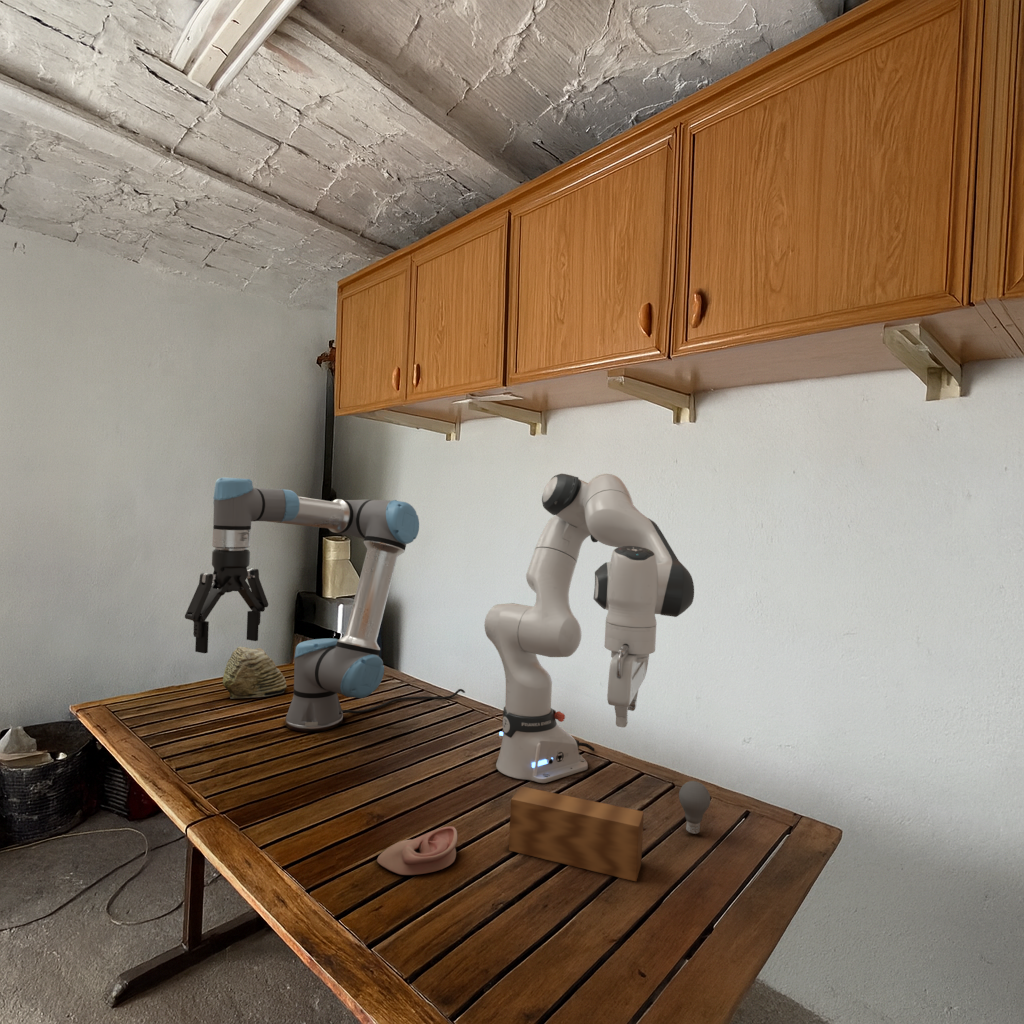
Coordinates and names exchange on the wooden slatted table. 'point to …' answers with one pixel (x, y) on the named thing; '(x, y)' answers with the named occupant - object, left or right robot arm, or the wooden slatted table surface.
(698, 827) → the light bulb
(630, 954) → the wooden slatted table surface
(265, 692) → the fossil
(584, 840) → the bar
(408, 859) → the anatomical model
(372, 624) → the left robot arm
